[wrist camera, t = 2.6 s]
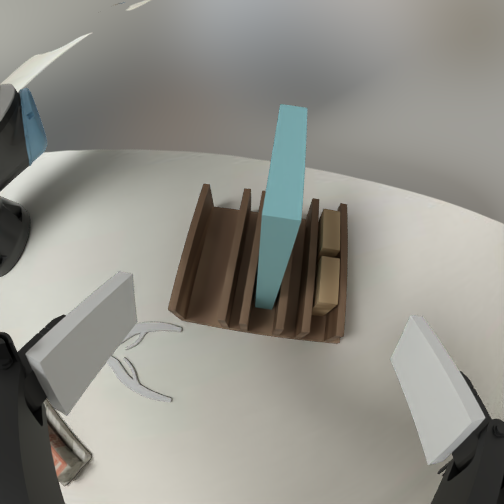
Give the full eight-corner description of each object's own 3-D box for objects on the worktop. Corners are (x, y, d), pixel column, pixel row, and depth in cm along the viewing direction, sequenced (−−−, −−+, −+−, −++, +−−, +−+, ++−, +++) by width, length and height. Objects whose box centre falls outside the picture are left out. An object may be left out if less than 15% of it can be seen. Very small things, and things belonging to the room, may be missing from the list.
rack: (181, 320, 32) (167, 309, 27) (209, 209, 39) (203, 183, 33) (337, 343, 31) (354, 337, 26) (342, 229, 38) (355, 206, 32)
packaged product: (76, 462, 19) (51, 492, 16) (95, 455, 24) (68, 485, 20) (5, 358, 24) (-14, 396, 21) (25, 363, 28) (5, 398, 25)
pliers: (168, 404, 27) (67, 371, 27) (171, 403, 28) (73, 372, 29) (179, 324, 31) (79, 303, 31) (182, 326, 32) (85, 306, 33)
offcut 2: (306, 314, 32) (318, 302, 26) (310, 275, 34) (321, 255, 28) (322, 316, 31) (337, 304, 26) (325, 277, 33) (339, 258, 28)
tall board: (255, 307, 32) (261, 215, 14) (266, 233, 36) (280, 104, 18) (271, 309, 32) (301, 220, 14) (281, 235, 36) (307, 107, 18)
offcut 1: (311, 268, 34) (322, 247, 29) (313, 233, 36) (323, 208, 31) (326, 270, 34) (340, 250, 28) (327, 235, 36) (340, 211, 31)
